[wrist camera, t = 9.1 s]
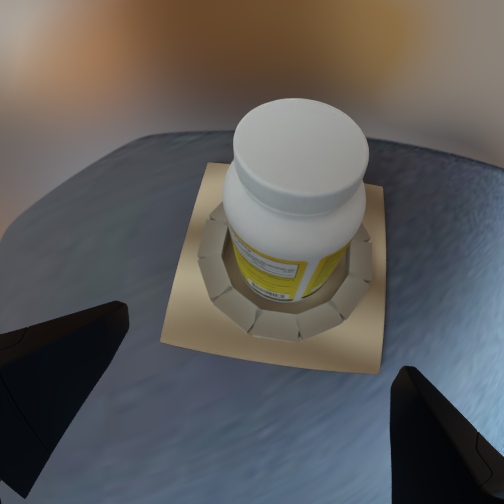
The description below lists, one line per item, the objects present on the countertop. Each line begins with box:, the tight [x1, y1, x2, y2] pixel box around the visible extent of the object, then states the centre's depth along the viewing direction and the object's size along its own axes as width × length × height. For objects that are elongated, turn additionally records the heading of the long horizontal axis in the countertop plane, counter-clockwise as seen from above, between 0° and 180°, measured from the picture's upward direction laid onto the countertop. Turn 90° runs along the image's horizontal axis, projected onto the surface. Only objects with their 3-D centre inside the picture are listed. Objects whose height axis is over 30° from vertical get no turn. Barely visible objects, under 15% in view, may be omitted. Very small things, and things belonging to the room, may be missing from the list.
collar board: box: [160, 163, 386, 374], centre depth 19 cm, size 14×14×2 cm
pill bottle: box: [222, 98, 369, 303], centre depth 14 cm, size 6×6×11 cm
